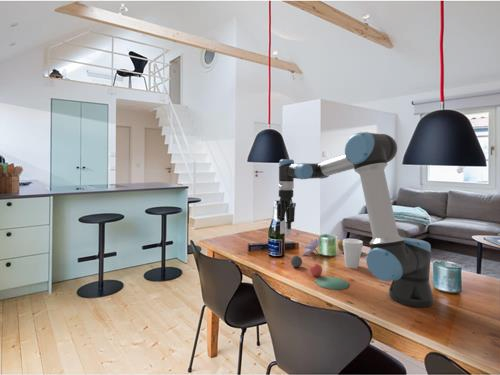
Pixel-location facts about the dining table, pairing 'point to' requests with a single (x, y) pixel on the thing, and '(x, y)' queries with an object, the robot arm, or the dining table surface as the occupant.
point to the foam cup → (352, 252)
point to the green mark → (332, 283)
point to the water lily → (314, 244)
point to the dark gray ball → (296, 261)
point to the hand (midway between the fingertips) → (285, 234)
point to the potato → (340, 245)
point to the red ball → (316, 269)
